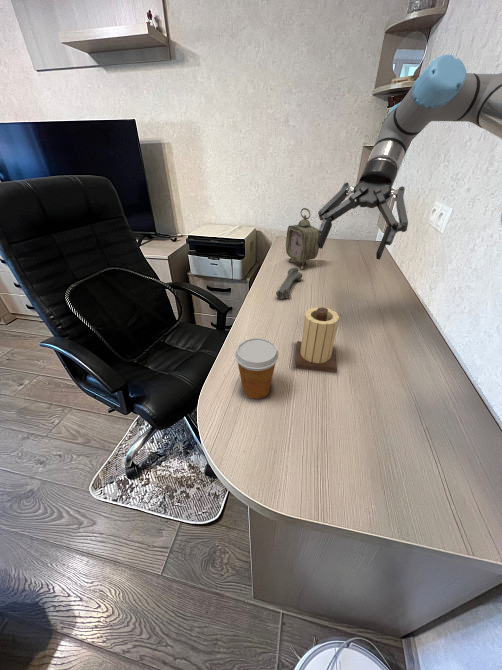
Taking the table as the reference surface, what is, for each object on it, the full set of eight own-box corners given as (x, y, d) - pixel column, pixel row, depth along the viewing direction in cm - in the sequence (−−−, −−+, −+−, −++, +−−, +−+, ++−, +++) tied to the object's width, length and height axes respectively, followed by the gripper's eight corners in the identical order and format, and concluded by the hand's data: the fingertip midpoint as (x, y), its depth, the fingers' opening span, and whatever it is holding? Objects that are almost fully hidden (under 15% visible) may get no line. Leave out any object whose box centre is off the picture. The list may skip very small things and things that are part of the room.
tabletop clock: (284, 261, 136) (288, 206, 121) (300, 258, 139) (305, 204, 124) (301, 271, 125) (307, 212, 110) (317, 268, 128) (325, 210, 114)
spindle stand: (335, 372, 71) (346, 322, 62) (295, 368, 72) (301, 319, 63) (332, 348, 79) (341, 301, 70) (296, 345, 80) (302, 298, 71)
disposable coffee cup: (266, 371, 71) (267, 332, 64) (283, 397, 64) (286, 357, 57) (231, 381, 68) (228, 341, 61) (244, 409, 61) (243, 368, 54)
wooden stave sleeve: (331, 364, 71) (340, 325, 64) (300, 361, 72) (305, 322, 65) (329, 346, 77) (337, 308, 70) (300, 343, 78) (305, 306, 71)
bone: (288, 277, 120) (288, 264, 116) (303, 279, 118) (304, 265, 114) (272, 299, 103) (273, 284, 100) (290, 302, 101) (291, 287, 98)
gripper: (438, 185, 63) (404, 269, 61) (332, 178, 74) (302, 249, 73) (445, 158, 56) (408, 252, 55) (328, 156, 68) (294, 233, 66)
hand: (347, 250), depth 64 cm, fingers open, 13 cm apart
